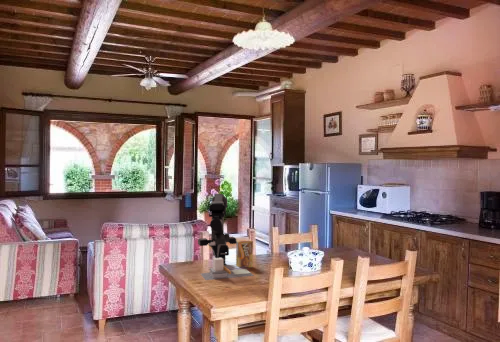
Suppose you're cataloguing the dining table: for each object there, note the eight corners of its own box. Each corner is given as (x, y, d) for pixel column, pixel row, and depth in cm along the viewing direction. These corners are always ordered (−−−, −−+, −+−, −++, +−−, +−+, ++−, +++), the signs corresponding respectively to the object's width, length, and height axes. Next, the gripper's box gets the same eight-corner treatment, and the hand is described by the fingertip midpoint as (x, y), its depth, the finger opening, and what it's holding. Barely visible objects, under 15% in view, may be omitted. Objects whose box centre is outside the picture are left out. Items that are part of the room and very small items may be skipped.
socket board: (200, 275, 228) (200, 267, 228) (246, 271, 237) (246, 263, 237) (205, 282, 216) (205, 273, 216) (254, 277, 225) (254, 269, 225)
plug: (209, 274, 226) (209, 257, 226) (223, 273, 228) (223, 256, 228) (213, 278, 219) (213, 260, 219) (226, 277, 222) (226, 259, 221)
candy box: (250, 265, 250) (250, 239, 249) (252, 267, 246) (253, 240, 245) (235, 266, 247) (236, 240, 246) (238, 268, 243) (238, 241, 242)
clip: (218, 265, 231) (218, 262, 231) (221, 265, 232) (221, 262, 232) (228, 274, 214) (228, 271, 214) (231, 273, 214) (231, 271, 214)
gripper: (202, 230, 205) (202, 263, 205) (239, 228, 211) (239, 260, 212) (197, 227, 216) (197, 258, 216) (233, 225, 222) (233, 255, 222)
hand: (217, 258), depth 216 cm, fingers closed
